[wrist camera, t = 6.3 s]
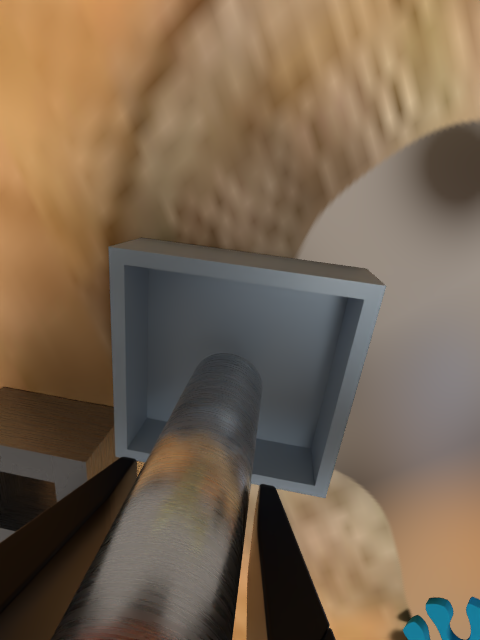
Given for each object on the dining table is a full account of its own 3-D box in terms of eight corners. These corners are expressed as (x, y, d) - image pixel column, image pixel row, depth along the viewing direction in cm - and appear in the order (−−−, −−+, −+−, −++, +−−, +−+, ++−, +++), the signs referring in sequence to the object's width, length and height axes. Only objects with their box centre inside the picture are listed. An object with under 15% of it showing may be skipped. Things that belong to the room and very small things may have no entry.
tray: (319, 451, 18) (325, 498, 15) (140, 418, 19) (115, 456, 16) (366, 268, 14) (386, 285, 11) (141, 237, 15) (108, 246, 12)
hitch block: (127, 505, 21) (93, 569, 18) (20, 482, 22) (-35, 540, 18) (125, 409, 19) (85, 462, 15) (3, 387, 19) (-65, 431, 16)
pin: (271, 436, 14) (234, 1030, 4) (174, 418, 15) (-83, 923, 4) (287, 346, 13) (296, 952, 2) (178, 329, 13) (-206, 794, 3)
